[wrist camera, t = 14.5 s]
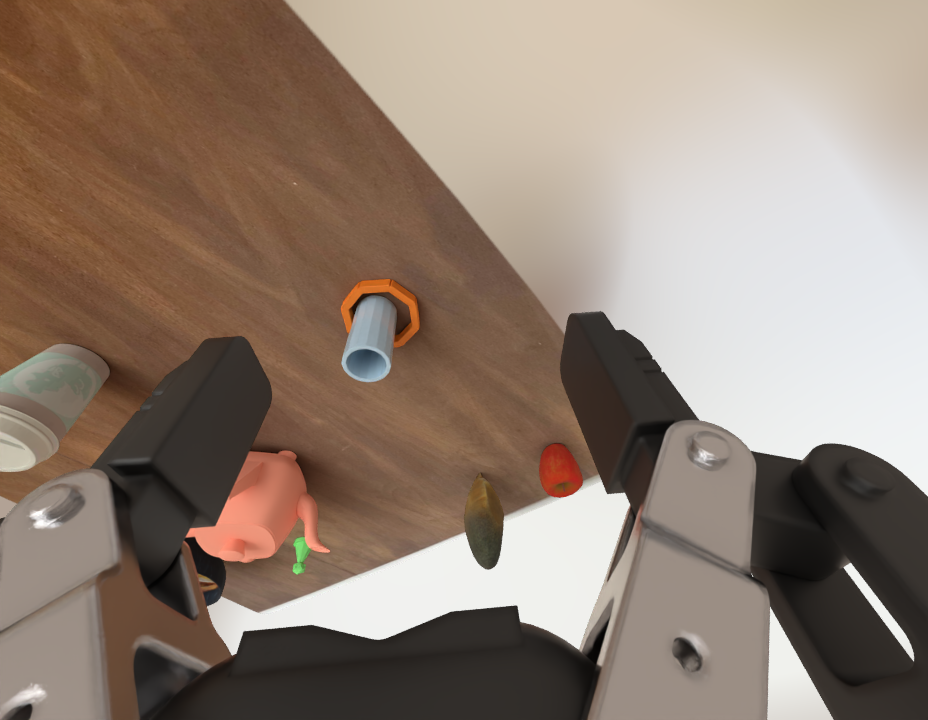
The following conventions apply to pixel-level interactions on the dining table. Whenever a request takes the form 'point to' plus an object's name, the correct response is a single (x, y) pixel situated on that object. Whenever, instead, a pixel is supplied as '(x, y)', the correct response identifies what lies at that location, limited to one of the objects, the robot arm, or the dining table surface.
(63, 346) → the coffee cup
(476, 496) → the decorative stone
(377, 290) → the ring
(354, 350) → the cup
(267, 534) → the teapot
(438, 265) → the dining table surface
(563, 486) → the apple
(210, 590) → the bowl
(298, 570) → the game piece
